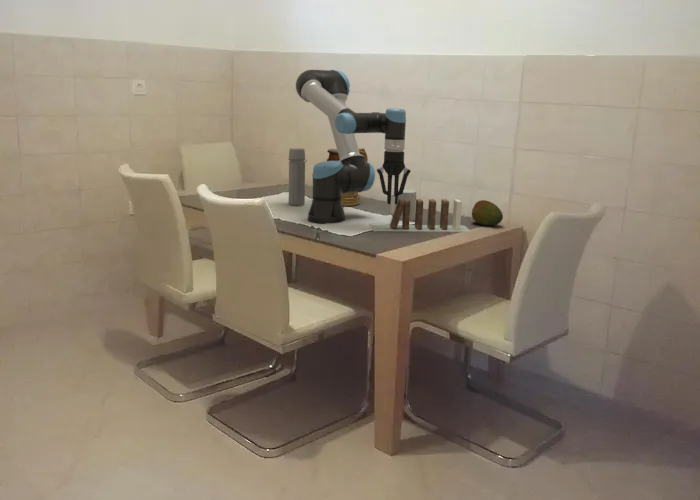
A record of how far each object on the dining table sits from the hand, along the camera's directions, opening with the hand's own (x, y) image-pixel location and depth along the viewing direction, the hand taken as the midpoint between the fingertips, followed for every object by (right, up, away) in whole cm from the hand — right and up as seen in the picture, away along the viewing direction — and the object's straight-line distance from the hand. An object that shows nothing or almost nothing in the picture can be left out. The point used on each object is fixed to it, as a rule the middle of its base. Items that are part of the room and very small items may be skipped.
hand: (391, 212), depth 260 cm
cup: (+7, -2, +20) cm, 21 cm away
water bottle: (-40, +6, +44) cm, 59 cm away
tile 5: (+20, -6, +4) cm, 22 cm away
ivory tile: (+25, -6, +5) cm, 26 cm away
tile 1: (+1, -6, +2) cm, 6 cm away
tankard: (-19, +7, +53) cm, 57 cm away
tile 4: (+15, -6, +4) cm, 17 cm away
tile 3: (+10, -6, +3) cm, 12 cm away
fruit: (+39, -5, +14) cm, 42 cm away
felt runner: (+11, -6, +3) cm, 13 cm away
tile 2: (+5, -6, +2) cm, 8 cm away
